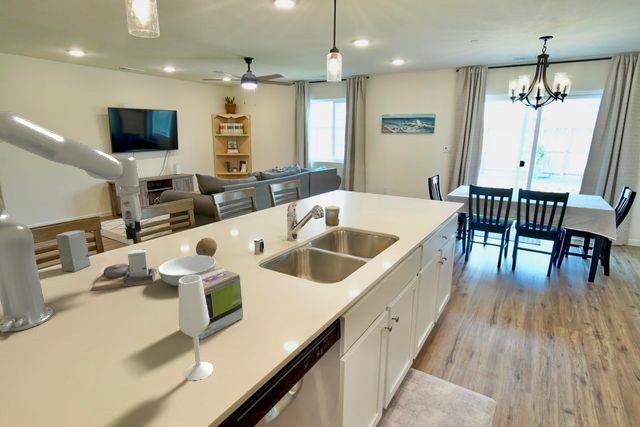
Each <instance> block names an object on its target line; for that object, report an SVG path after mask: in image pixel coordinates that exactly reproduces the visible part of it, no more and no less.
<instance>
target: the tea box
mask: <svg viewBox="0 0 640 427" xmlns="http://www.w3.org/2000/svg"><path fill="white" fill-rule="evenodd" d="M199 276H201V279H202V284H203V289H204V294H205V299H206V304H207V310H208V315H209V324H208V326H207V328H206V329H205V330H204V331H203V332H202V333H201V334H200V335H199V336H198V338H199V339H200V340H203V339H204V338H207V337H208V336H210V335H212V334H214V333H216V332H218V331H220V330H222V329H223V328H225V327H227V326H230V325H231V324H233V323H235V322H237V321H239V320H241V319H243V318H244V310H243V297H242V288H241V278H240V277H241V276H240V274H238V273H235V272H233V271H230V270H227V269H225V268H223V267H219V268H215V270H213V271H210V272H207V273H205V274H202V275H199ZM177 291H178V293H179V283H178V286H177Z"/></svg>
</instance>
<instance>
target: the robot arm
mask: <svg viewBox="0 0 640 427" xmlns="http://www.w3.org/2000/svg"><path fill="white" fill-rule="evenodd" d="M0 143H6V144H8V145H11V146H14V147H16V148H19V149H20V150H23V151H26V152H28V153H31V154H33V155H35V156H38V157H41V158H44V159H45V160H48V161H52V162H54V163H57V164H62V165H67V166H71V167H75V168H78V169H80V170H82V171H83V170H84V171H85V173H86V174H87V175H88V176H89V177H92V178H94V179H97V180H105V181H114V184H115V192H116V197H117V196H118V197H120V208H121V216H122V221H123V222H124V223H125V224H124V225H125V228H124V230H125V235H126V236H125V237H126V240H137V238H138V236H137V235H138V234H137V233H138V232H141V231H142V229H141V227H142V226H141V222H140V220H141V218H142V216H143V214H142V213H143V212H142V208H141V204H140V203H141V202H140V198H139V195H140V194H141V189H140V181H139V176H138V174H139V173H138V166H137V160H136V158H135V157H133V156H131V155H130V156H127V155H126V156H125V155H124V156H115V157H112V156H111V155H109V154H106V153H105V152H102V151H100V150H98V149H96V148H94V147H92V146H88V145H87V144H83V143H81V142H79V141H77V140H74V139H72V138H69V137H67V136H64V135H62V134H61V133H57V132H56V131H53V130H52V129H49V128H47V127H45V126H43V125H40V124H39V123H36V122H34V121H32V120H31V119H28V118H26V117H24V116H22V115H19V114H18V113H15V112H11V111H2V110H1V111H0ZM4 208H5V205H4V202H3V199H2V198H1V197H0V305H1V309H2V313H3V317H4V318H3V319H1V320H0V332H2V333H6V332H18V331H22V330H28V329H31V328H33V327H36V326H39V325H42V324H43V323H45V322H47V321H48V320H49V319H50V318H52V317H53V315H54V310H53V309H52V307H48V306H46V302H45V298H44V292H43V289H42V288H43V287H42V283H41V280H40V279H41V278H40V274H39V270H38V265H37V261H36V260H37V259H36V253H35V252H36V251H35V239H34V234H33V232H32V230H31V229H30V228H29V227H28V226H27V225H26V224H24V223H22V222H21V221H19V220H16V219H13V218H12V216H10V214H9V213H8V212H7V210H6V209H4Z"/></svg>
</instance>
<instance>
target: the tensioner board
mask: <svg viewBox="0 0 640 427" xmlns="http://www.w3.org/2000/svg"><path fill="white" fill-rule="evenodd" d="M158 268H159V267H158V266H152V267H151V266H150V267H148V274H149V275H145V276H137V277H130V269H129V264H127V263H117V264H116V263H115V264H112V265H109V266H107V267H105V268H104V270H103V272H102V274H101V275H100V276H99V278H98V279H97V281H96V282H95V283H94V285H93V286H92V291H98V290H108V289H115V288H123V287H124V288H125V287H132V286H137V285H147V284H153V283H154V282H155V279H156V276H157V272H158Z"/></svg>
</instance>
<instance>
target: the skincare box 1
mask: <svg viewBox="0 0 640 427" xmlns="http://www.w3.org/2000/svg"><path fill="white" fill-rule="evenodd" d="M86 238H87V237H86V232H85V230H70V231H64V232H62V233H59V234H55V240H56V244H57V245H56V246H57V249H58V254H59V260H60V266H61V269H62V270H61V271H62V272H63V271H64V272H73V273H76V272H77V271H81V270H83V269H84V268H87V267H90V266H91V261H90V260H91V259H90V254H89V250H88V244H87V239H86Z"/></svg>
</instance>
